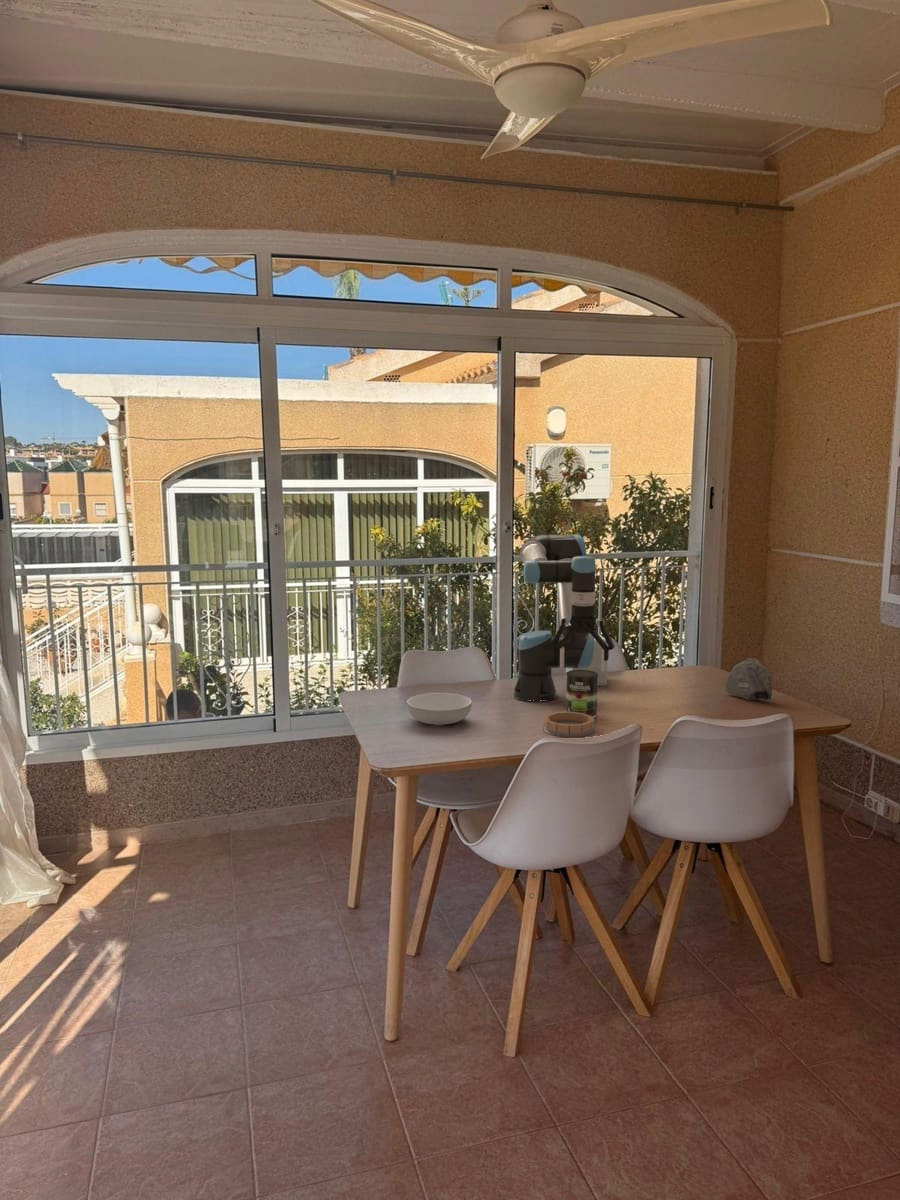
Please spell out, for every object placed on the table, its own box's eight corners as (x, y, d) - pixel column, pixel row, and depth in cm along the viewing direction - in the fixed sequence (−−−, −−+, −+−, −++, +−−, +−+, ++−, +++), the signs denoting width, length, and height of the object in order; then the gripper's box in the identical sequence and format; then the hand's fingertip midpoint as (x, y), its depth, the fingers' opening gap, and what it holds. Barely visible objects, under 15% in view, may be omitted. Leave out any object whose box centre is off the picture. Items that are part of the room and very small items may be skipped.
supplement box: (598, 677, 319) (599, 633, 317) (607, 685, 306) (607, 639, 304) (565, 678, 318) (565, 634, 316) (572, 686, 305) (572, 640, 303)
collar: (536, 733, 248) (536, 722, 247) (550, 719, 262) (550, 709, 262) (588, 739, 242) (588, 728, 241) (599, 724, 256) (600, 714, 256)
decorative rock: (773, 703, 280) (775, 660, 278) (761, 706, 276) (763, 662, 274) (734, 693, 293) (735, 652, 291) (722, 695, 290) (723, 654, 288)
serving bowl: (421, 734, 249) (421, 712, 248) (398, 717, 268) (397, 696, 267) (482, 726, 257) (482, 704, 256) (456, 709, 276) (455, 689, 275)
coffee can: (594, 720, 261) (595, 677, 259) (562, 717, 265) (563, 675, 263) (600, 712, 271) (600, 670, 269) (569, 709, 274) (569, 668, 272)
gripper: (542, 604, 264) (542, 668, 266) (619, 607, 254) (618, 674, 257) (548, 601, 271) (548, 663, 273) (624, 604, 261) (623, 669, 264)
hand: (582, 669), depth 265 cm, fingers open, 13 cm apart
